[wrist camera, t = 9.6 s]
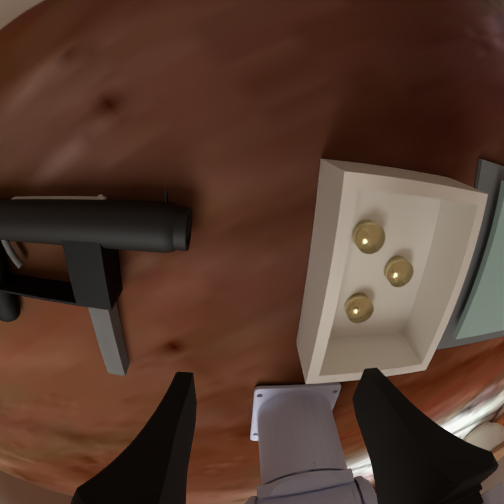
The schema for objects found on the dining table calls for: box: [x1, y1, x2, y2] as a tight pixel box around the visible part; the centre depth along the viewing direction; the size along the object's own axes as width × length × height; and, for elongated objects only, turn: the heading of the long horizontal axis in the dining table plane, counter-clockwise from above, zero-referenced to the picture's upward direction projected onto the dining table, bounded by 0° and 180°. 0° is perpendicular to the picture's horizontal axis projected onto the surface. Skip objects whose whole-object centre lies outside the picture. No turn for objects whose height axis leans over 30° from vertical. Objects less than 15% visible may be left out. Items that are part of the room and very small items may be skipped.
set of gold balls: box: [344, 219, 414, 323], centre depth 20 cm, size 8×5×1 cm, turn 177°
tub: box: [296, 159, 488, 384], centre depth 19 cm, size 14×10×4 cm
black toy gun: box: [0, 189, 192, 376], centre depth 20 cm, size 3×20×16 cm
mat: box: [436, 159, 504, 350], centre depth 22 cm, size 18×14×1 cm
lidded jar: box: [464, 421, 504, 461], centre depth 33 cm, size 11×11×9 cm
